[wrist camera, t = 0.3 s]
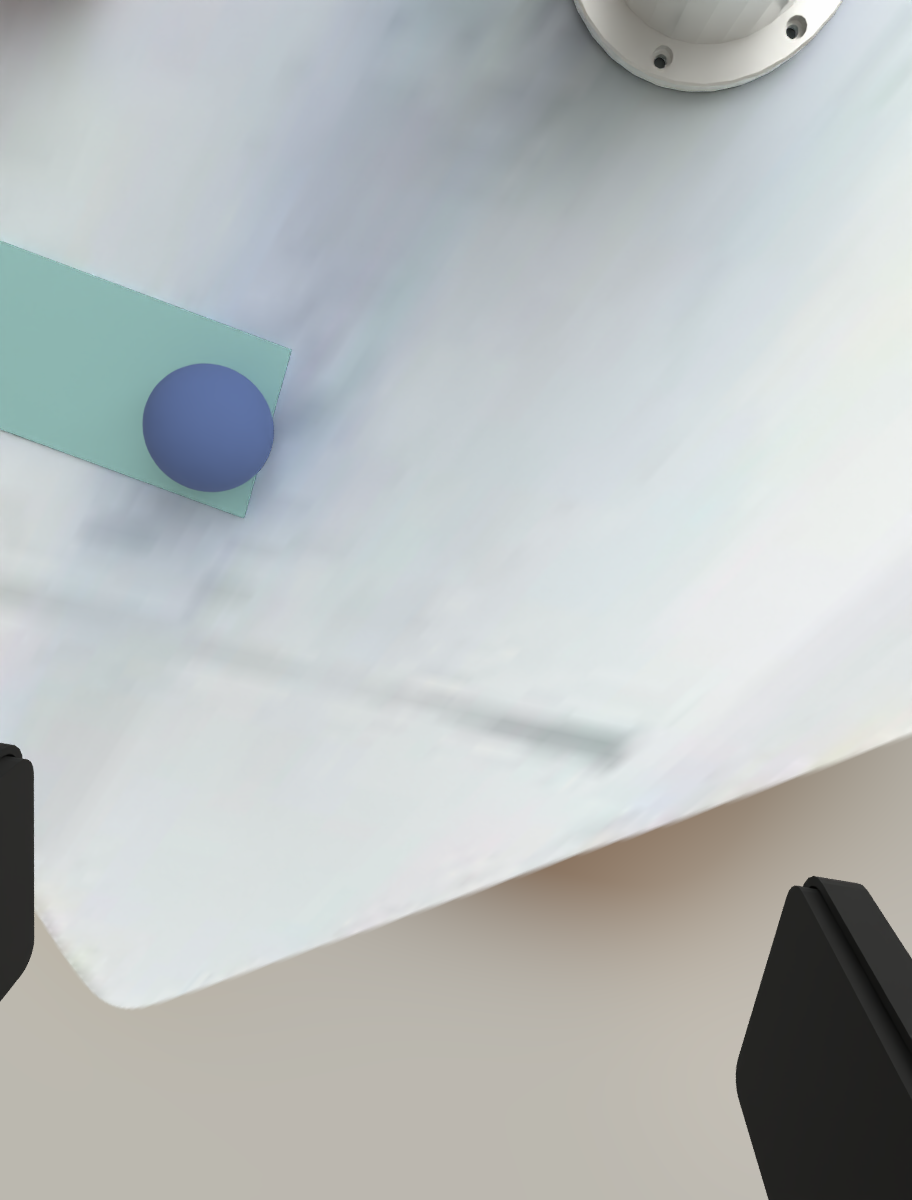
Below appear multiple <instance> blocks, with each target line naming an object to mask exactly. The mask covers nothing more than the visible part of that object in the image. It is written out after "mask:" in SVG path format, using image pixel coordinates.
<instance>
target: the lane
mask: <svg viewBox="0 0 912 1200" xmlns="http://www.w3.org/2000/svg"><path fill="white" fill-rule="evenodd" d="M291 351H292V350H291V349H288V348H286V347H283V346H280V345H278V344H275V343H272V342H270V341H267V340H264V339H261V338H259V337H256V336H253V335H251V334H248V333H245V332H243V331H240V330H237V329H235V328H232V327H229V326H227V325H224V324H221V323H219V322H216V321H213V320H211V319H208V318H205V317H203V316H200V315H197V314H195V313H192V312H189V311H187V310H184V309H181V308H179V307H176V306H173V305H171V304H168V303H165V302H162V301H160V300H157V299H154V298H152V297H149V296H146V295H144V294H141V293H138V292H136V291H133V290H130V289H128V288H125V287H122V286H120V285H117V284H114V283H112V282H109V281H106V280H104V279H101V278H98V277H96V276H93V275H90V274H88V273H85V272H82V271H80V270H77V269H74V268H72V267H69V266H66V265H64V264H61V263H58V262H55V261H53V260H50V259H47V258H45V257H42V256H39V255H37V254H34V253H31V252H29V251H26V250H23V249H21V248H18V247H15V246H13V245H10V244H7V243H5V242H2V241H0V429H1V430H4V431H7V432H9V433H12V434H15V435H17V436H20V437H23V438H26V439H28V440H31V441H34V442H37V443H39V444H42V445H45V446H48V447H50V448H53V449H56V450H58V451H61V452H64V453H67V454H69V455H72V456H75V457H78V458H80V459H83V460H86V461H88V462H91V463H94V464H97V465H99V466H102V467H105V468H108V469H110V470H113V471H116V472H119V473H121V474H124V475H127V476H129V477H132V478H135V479H138V480H140V481H143V482H146V483H149V484H151V485H154V486H157V487H159V488H162V489H165V490H168V491H170V492H173V493H176V494H179V495H181V496H184V497H187V498H190V499H192V500H195V501H198V502H200V503H203V504H206V505H209V506H211V507H214V508H217V509H220V510H222V511H225V512H228V513H230V514H233V515H236V516H239V517H241V518H244V517H245V513H246V510H247V506H248V503H249V499H250V495H251V492H252V488H253V485H254V481H255V478H256V475H255V476H254V477H252V478H251V479H250V480H248V481H247V482H246V483H244V484H242V485H240V486H238V487H236V488H233V489H230V490H226V491H220V492H203V491H197V490H193V489H190V488H187V487H185V486H183V485H181V484H179V483H177V482H175V481H174V480H172V479H171V478H169V477H168V476H167V475H166V474H165V473H164V472H163V471H162V470H160V468H159V467H158V466H157V465H156V463H155V462H154V460H153V459H152V457H151V455H150V453H149V451H148V449H147V446H146V444H145V440H144V436H143V427H142V422H143V413H144V408H145V405H146V402H147V400H148V398H149V396H150V394H151V392H152V391H153V389H154V388H155V386H156V385H157V384H158V383H159V382H160V381H161V380H162V379H163V378H164V377H166V376H167V375H168V374H170V373H171V372H173V371H175V370H177V369H179V368H182V367H185V366H189V365H192V364H200V363H206V364H216V365H221V366H225V367H228V368H230V369H233V370H235V371H237V372H238V373H240V374H242V375H243V376H245V377H246V378H247V379H249V380H250V381H251V382H252V383H253V384H254V385H255V386H256V387H257V388H258V389H259V391H260V392H261V393H262V395H263V396H264V398H265V400H266V401H267V404H268V406H269V408H270V411H271V415H272V418H273V414H274V411H275V407H276V404H277V400H278V397H279V393H280V390H281V386H282V382H283V379H284V375H285V372H286V368H287V365H288V361H289V358H290V354H291Z"/></svg>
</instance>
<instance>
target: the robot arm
mask: <svg viewBox="0 0 912 1200" xmlns="http://www.w3.org/2000/svg"><path fill="white" fill-rule="evenodd" d="M574 2H575V5H576V8H577V11H578V12H579V14H580V16H581V18H582V19H583V21H584V23H585V25H586V26H587V28H588V30H589V32H590V33H591V35H592V37H593V38H594V39H595V40H596V41H597V42H598V43H599V45H600V46H601V47H602V48H603V49H604V50H605V51H606V53H607V54H608V55H609V56H610V57H611V58H612V59H613V60H615V61H616V62H617V63H619V64H620V65H621V66H623V67H624V68H625V69H627V70H628V71H629V72H631V73H632V74H633V75H635V76H638V77H640V78H642V79H644V80H646V81H649V82H651V83H653V84H655V85H657V86H661V87H666V88H671V89H675V90H680V91H685V92H694V91H717V90H722V89H726V88H731V87H735V86H740V85H743V84H745V83H747V82H750V81H752V80H754V79H757V78H759V77H761V76H763V75H766V74H768V73H770V72H771V71H773V70H774V69H776V68H777V67H779V66H780V65H782V64H783V63H785V62H786V61H788V60H789V59H790V58H792V57H793V56H795V55H796V54H797V53H798V52H799V51H800V50H801V49H802V48H803V47H804V46H805V45H807V44H808V43H809V42H810V41H811V40H812V39H813V38H814V37H815V36H816V35H817V34H818V33H819V31H820V30H821V29H822V28H823V27H824V26H825V24H826V23H827V22H828V21H829V20H830V19H831V17H832V16H833V15H834V14H835V13H836V11H837V10H838V8H839V6H840V5H841V3H842V2H843V0H574ZM788 28H792V29H793V30H795V33H796V35H795V38H794V39H791V38H789V37H788V36H787V34H786V29H788ZM658 57H660V58H663V59H664V60H665V67H663V68H657V67H656V66H655V64H654V61H655V59H656V58H658ZM33 945H34V771H33V766H32V763H31V762H30V761H29V760H27V759H22V754H21V751H20V749H19V748H18V747H16V746H15V745H10V744H4V743H0V1001H1V1000H2V999H3V997H4V996H5V995H6V993H7V992H8V991H9V990H10V988H11V987H12V986H13V985H14V983H15V982H16V981H17V980H18V978H19V977H20V976H21V974H22V973H23V971H24V970H25V968H26V966H27V964H28V962H29V959H30V957H31V954H32V950H33ZM736 1068H737V1069H736V1086H737V1094H738V1098H739V1102H740V1105H741V1108H742V1112H743V1115H744V1118H745V1122H746V1125H747V1128H748V1132H749V1135H750V1139H751V1142H752V1145H753V1149H754V1152H755V1155H756V1159H757V1162H758V1165H759V1169H760V1172H761V1176H762V1179H763V1182H764V1186H765V1189H766V1193H767V1196H768V1199H769V1200H912V959H911V957H910V955H909V954H908V952H907V951H906V949H905V948H904V946H903V945H902V943H901V942H900V940H899V938H898V937H897V935H896V934H895V932H894V931H893V929H892V928H891V926H890V925H889V923H888V922H887V920H886V919H885V917H884V915H883V914H882V912H881V911H880V909H879V908H878V906H877V905H876V903H875V902H874V900H873V898H872V897H871V895H870V894H869V892H868V891H867V890H866V889H865V887H864V886H863V885H861V884H857V883H852V882H846V881H840V880H834V879H828V878H822V877H815V876H812V877H810V878H808V879H807V881H806V882H805V883H804V885H803V887H801V886H793V887H792V888H791V889H790V890H789V892H788V895H787V897H786V901H785V904H784V907H783V911H782V914H781V917H780V921H779V924H778V927H777V931H776V934H775V938H774V941H773V944H772V947H771V951H770V954H769V957H768V961H767V964H766V967H765V971H764V974H763V977H762V981H761V984H760V988H759V991H758V994H757V997H756V1001H755V1004H754V1007H753V1011H752V1014H751V1017H750V1021H749V1024H748V1027H747V1031H746V1034H745V1037H744V1041H743V1044H742V1047H741V1051H740V1054H739V1057H738V1062H737V1067H736Z"/></svg>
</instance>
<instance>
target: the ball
mask: <svg viewBox="0 0 912 1200" xmlns="http://www.w3.org/2000/svg"><path fill="white" fill-rule="evenodd" d="M142 427H143V436H144V440H145V444H146V446H147V449H148V451H149V453H150V455H151V457H152V459H153V460H154V462H155V463H156V465H157V466H158V467H159V468H160V470H162V471H163V472H164V473H165V474H166V475H167V476H168V477H169V478H171V479H172V480H174V481H175V482H177V483H179V484H181V485H183V486H185V487H187V488H190V489H193V490H197V491H203V492H220V491H226V490H230V489H233V488H236V487H238V486H240V485H242V484H244V483H246V482H247V481H248V480H250V479H251V478H252V477H254V476H255V475H256V474H257V473H258V472H259V471H260V469H261V468H262V467H263V465H264V464H265V462H266V460H267V458H268V456H269V454H270V451H271V448H272V444H273V437H274V425H273V419H272V415H271V411H270V408H269V406H268V404H267V401H266V400H265V398H264V396H263V395H262V393H261V392H260V391H259V389H258V388H257V387H256V386H255V385H254V384H253V383H252V382H251V381H250V380H249V379H247V378H246V377H245V376H243V375H242V374H240V373H238V372H237V371H235V370H233V369H230V368H228V367H225V366H221V365H216V364H206V363H200V364H192V365H189V366H185V367H182V368H179V369H177V370H175V371H173V372H171V373H170V374H168V375H167V376H166V377H164V378H163V379H162V380H161V381H160V382H159V383H158V384H157V385H156V386H155V388H154V389H153V391H152V392H151V394H150V396H149V398H148V400H147V402H146V405H145V408H144V413H143V422H142Z"/></svg>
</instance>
